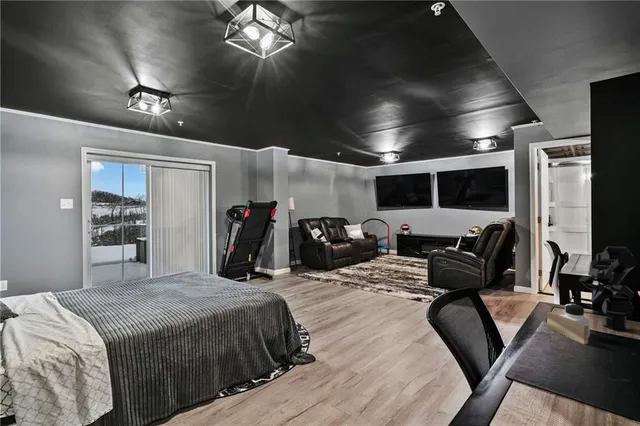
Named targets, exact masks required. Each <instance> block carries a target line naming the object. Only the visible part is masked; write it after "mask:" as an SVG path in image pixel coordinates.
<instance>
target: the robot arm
mask: <svg viewBox="0 0 640 426" xmlns="http://www.w3.org/2000/svg"><path fill="white" fill-rule="evenodd" d="M612 261H613V262H612ZM600 262H601V263H609V264H610V265H602V264H601V265H600V264H599V263H600ZM637 264H638V260H637V259H636V258H635V256H634V254H633V253H632V252H631V250H630V249H628V247H627V246H606V247H605V248H604V250H603V252H601V253H600V252H599V253H597V254H596V256H595V258H594V259H593V260H592V261H590V263H589V270H588V271H589V272H588V276H589V277H588V276H581V277H580V278H579V280H578V281H579V282H580V283H581V284H582V285H583V286H584V287H586V288H587V289H589V290H592V293H591V294H592V295H591V299H590V302H591V303H592V304H596V303H599V302H601V301H603V303H602V305H601V309H602V312H603V313H604V314H605V315H606V318H605V319H606V322H605V324H603V325H602V327H604V328H608V329H611V330H613V331H616V332H626V331H631V328H629V327H627V317H629V318H632V317H633V312H634V308H635V306H634V305H633V302H631V300H632V299H633V298H634V292H633V291H632V290H631V289H630V287H628V286H627V285H626V284H624V282H625V280H623V279H624V278H625V277H626V276H627V274H628V273H629V272H630V271H631V270H632V269H634V268H635V267H636V266H637ZM590 276H591V277H590Z"/></svg>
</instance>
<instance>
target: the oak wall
mask: <svg viewBox="0 0 640 426" xmlns="http://www.w3.org/2000/svg"><path fill="white" fill-rule="evenodd" d="M546 315H547V317H546V319H547V320H546V321H547V322H546V329H547V328H549V329H548V330H550V329H551V330H550V331H552V330H554V331H556V332H555V333H557V332H558V333H557V334H559V333H560V334H559V335H561V334H563V335H562V336H564V335H565V336H564V337H566V338H568V337H569V338H568V339H570V338H571V340H573V341H576V342H577V343H580V344H582V345H588V344H589V337H588V326H587V325H585V324H582V323H579V322H577V321H574V320H571V319H569V318H566V317H563V316H560V315H561V314H557V313H555V312H552V311H548V312H547V314H546ZM554 331H553V332H554Z"/></svg>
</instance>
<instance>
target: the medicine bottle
mask: <svg viewBox="0 0 640 426" xmlns="http://www.w3.org/2000/svg"><path fill="white" fill-rule="evenodd" d="M584 310H585V308H584V307H583V306H581V305H579V304H576V303H567V304H565V305H564V314H559V315H560V316H563V317H566V318H569V319H571V320H574V321H577V322H579V323H582V324H585V325H587V326H588V338H589V337H591V336H590V334H591V330H590V329H591V325H590V321H591V319H589V318H588V317H585V312H584Z"/></svg>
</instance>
